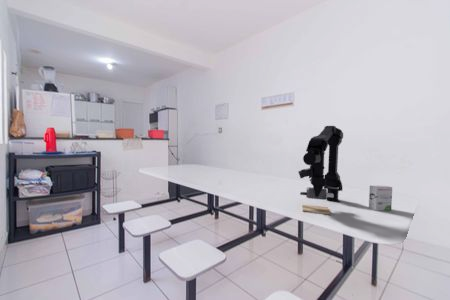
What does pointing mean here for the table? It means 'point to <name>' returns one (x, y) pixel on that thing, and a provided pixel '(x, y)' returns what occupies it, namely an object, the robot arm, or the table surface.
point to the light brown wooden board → (316, 209)
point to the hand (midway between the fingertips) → (316, 195)
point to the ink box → (380, 198)
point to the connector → (322, 195)
